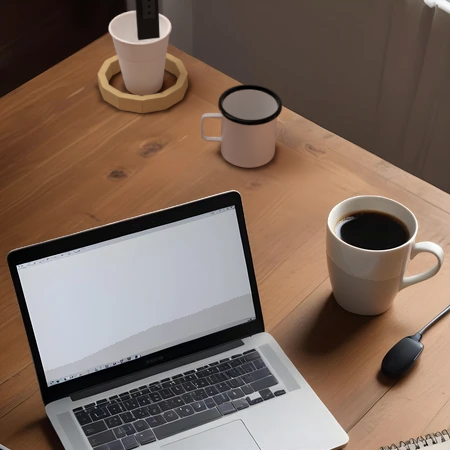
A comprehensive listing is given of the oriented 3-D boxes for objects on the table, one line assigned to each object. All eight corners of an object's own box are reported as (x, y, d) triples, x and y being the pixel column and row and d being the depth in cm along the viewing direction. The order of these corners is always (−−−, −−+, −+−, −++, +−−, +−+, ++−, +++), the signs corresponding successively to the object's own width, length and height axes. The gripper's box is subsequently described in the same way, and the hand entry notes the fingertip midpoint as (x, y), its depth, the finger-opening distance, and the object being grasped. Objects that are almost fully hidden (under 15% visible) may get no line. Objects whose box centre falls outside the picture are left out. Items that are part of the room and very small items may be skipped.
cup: (110, 72, 142) (105, 12, 134) (168, 66, 144) (166, 7, 135) (118, 107, 136) (112, 46, 128) (178, 100, 137) (176, 40, 129)
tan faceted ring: (88, 105, 136) (87, 92, 134) (115, 56, 145) (114, 44, 143) (174, 118, 134) (173, 105, 133) (195, 68, 143) (195, 55, 142)
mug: (277, 133, 133) (281, 84, 126) (278, 172, 126) (283, 122, 120) (202, 131, 132) (202, 82, 126) (199, 170, 126) (199, 120, 119)
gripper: (184, -125, 85) (187, 59, 102) (143, -211, 101) (151, -40, 117) (111, -119, 84) (125, 66, 101) (81, -208, 100) (97, -35, 116)
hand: (139, 9), depth 109 cm, fingers open, 13 cm apart
